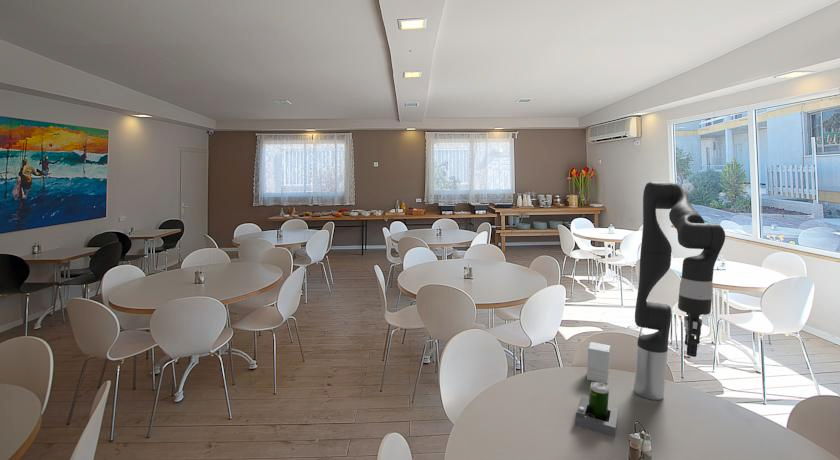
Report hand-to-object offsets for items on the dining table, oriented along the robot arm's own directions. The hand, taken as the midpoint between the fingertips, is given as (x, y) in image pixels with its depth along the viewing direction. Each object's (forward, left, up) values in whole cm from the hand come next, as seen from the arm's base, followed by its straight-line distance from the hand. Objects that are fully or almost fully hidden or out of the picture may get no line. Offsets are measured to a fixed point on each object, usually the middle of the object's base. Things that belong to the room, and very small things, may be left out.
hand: (690, 350), depth 110 cm
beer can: (+3, -22, -28) cm, 36 cm away
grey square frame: (+3, -22, -28) cm, 36 cm away
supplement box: (-28, -25, -28) cm, 47 cm away
